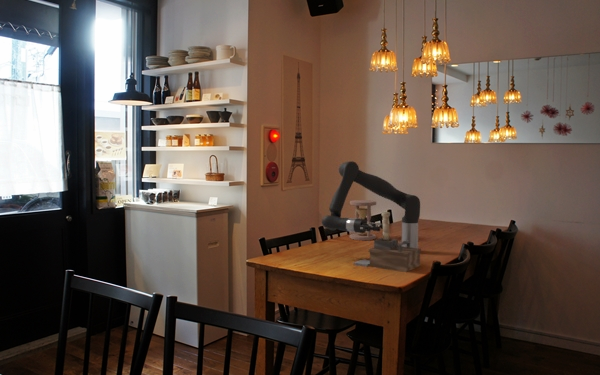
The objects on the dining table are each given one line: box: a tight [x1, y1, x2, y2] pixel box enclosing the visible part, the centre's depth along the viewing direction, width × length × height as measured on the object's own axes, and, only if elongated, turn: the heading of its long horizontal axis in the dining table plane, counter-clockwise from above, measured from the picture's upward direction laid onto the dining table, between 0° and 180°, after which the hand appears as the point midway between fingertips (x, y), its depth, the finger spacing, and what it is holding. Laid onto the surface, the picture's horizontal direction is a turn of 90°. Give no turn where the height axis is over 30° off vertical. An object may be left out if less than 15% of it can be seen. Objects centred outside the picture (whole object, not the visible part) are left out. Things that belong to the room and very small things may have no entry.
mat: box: [353, 259, 370, 267], centre depth 268 cm, size 10×8×1 cm
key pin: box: [381, 211, 391, 241], centre depth 264 cm, size 4×4×18 cm
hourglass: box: [349, 199, 377, 241], centre depth 347 cm, size 18×18×25 cm
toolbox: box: [368, 237, 422, 273], centre depth 262 cm, size 17×21×13 cm
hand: (383, 228), depth 265 cm, fingers open, 8 cm apart
